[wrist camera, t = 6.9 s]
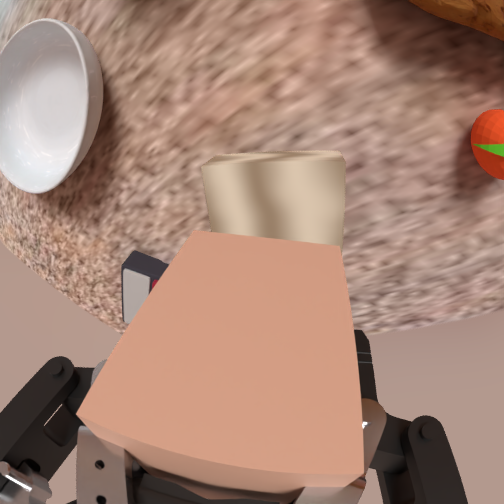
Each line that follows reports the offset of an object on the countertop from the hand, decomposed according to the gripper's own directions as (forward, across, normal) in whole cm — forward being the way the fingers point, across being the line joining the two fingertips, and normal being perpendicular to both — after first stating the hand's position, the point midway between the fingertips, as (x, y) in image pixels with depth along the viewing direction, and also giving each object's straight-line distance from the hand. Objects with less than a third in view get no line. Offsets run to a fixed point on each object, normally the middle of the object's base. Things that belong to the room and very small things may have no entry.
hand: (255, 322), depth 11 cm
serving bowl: (+21, +28, -10) cm, 36 cm away
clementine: (+20, -20, -8) cm, 30 cm away
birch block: (+20, 0, +4) cm, 21 cm away
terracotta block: (+2, 0, 0) cm, 2 cm away
